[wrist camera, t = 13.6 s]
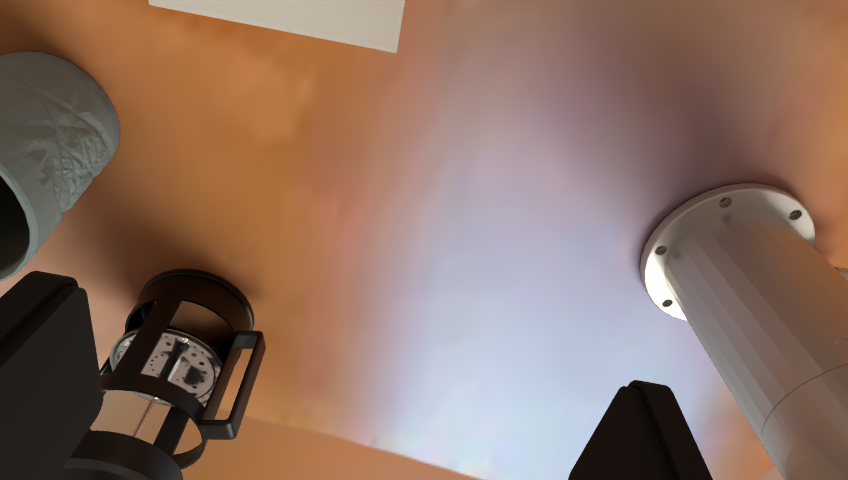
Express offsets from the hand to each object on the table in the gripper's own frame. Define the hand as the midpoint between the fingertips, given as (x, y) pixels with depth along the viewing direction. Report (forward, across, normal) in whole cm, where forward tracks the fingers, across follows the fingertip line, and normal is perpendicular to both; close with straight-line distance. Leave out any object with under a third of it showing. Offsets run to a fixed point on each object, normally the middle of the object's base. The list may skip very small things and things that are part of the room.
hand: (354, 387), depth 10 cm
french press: (+28, +14, +26) cm, 40 cm away
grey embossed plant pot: (+28, +23, +10) cm, 37 cm away
